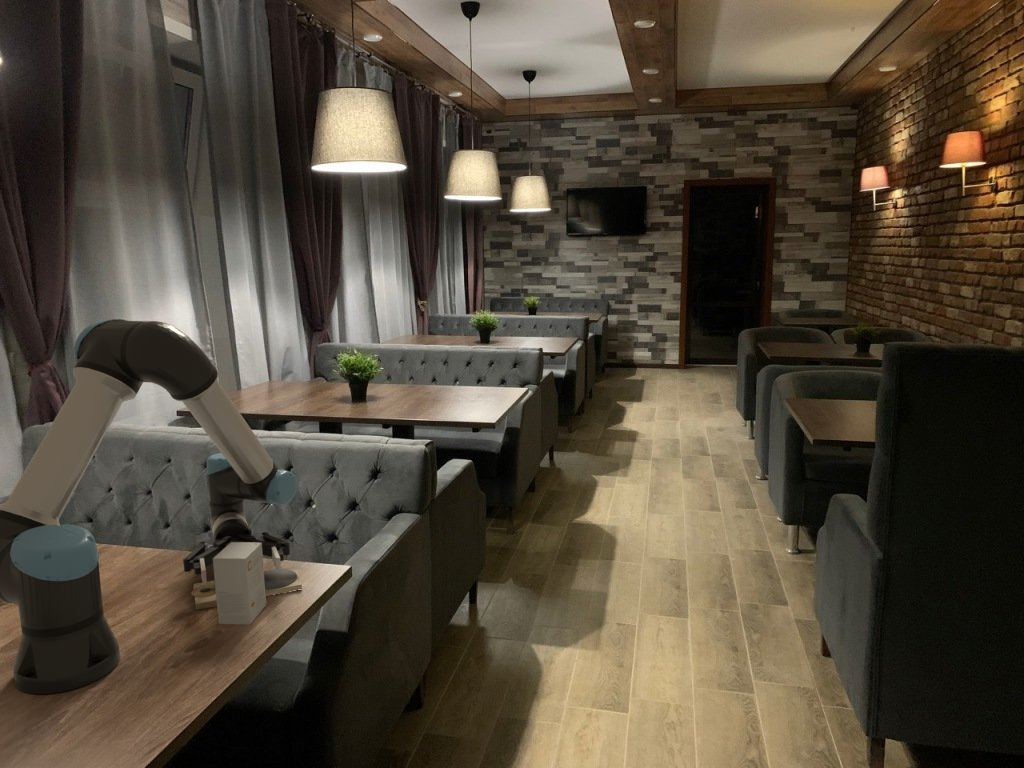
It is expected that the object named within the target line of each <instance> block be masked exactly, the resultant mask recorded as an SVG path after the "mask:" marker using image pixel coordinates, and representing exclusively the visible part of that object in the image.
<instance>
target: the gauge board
mask: <svg viewBox="0 0 1024 768" xmlns="http://www.w3.org/2000/svg"><path fill="white" fill-rule="evenodd" d="M264 582H265V594H266V596H268V597H270V596H269V595H273V594H278V595H281V594H280V593H284V594H286V593H285V592H289V591H293V590H298V589H302V590H303V585H302V582H301V579H300V578H299V575H298V572H297V570H296V568H295V566H290V567H284V568H281V571H277V570H276V568H273V569H267V570H264ZM289 593H290V592H289ZM191 596H192V597H194V601H195V602H194V603H195V604H194V605H195V610H196V611H197V610H201V609H209V608H212V607H213V608H214V607H217V600H216V589H215V579H214V580H209V581H207V584H203V583H202V582H197V583H193V589H192V591H191ZM273 596H274V595H273Z"/></svg>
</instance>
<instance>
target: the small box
mask: <svg viewBox="0 0 1024 768" xmlns="http://www.w3.org/2000/svg"><path fill="white" fill-rule="evenodd" d="M263 556H264V555H263V554H262V543H257V542H231V543H230V544H228V545H227V546H226V547H225V548H224V549H223V550H222V551H221V552H220V553H218V554H217V555H216V556H215V557H214V558H213V563H212V565H213V566H212V568H213V576H214V577H213V578H214V580H215V589H216V600H217V606H216V609H217V610H216V612H217V621H218V622H217V623H218V624H219V625H251V624H252V623H253V622H254V621H255V620H256V618H257V617H258V615H259V614H260V613H261V612H262V611H263V610H264V609H265V607H266V606H267V597H266V594H265V582H264V571H265V570H264V569H265V567H264V557H263Z"/></svg>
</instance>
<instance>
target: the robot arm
mask: <svg viewBox="0 0 1024 768" xmlns="http://www.w3.org/2000/svg"><path fill="white" fill-rule="evenodd" d="M73 354H75V356H74V363H75V366H74V367H73V370H72V374H73V377H74V379H75V384H74V385H73V387H72V388H71V390H70V392H69V394H68V396H67V397H66V398H65V401H64V402H63V404H62V406H61V408H60V410H59V411H58V413H57V415H56V416H55V418H54V420H53V422H52V423H51V425H50V427H49V428H48V430H47V432H46V434H45V435H44V437H43V439H42V440H41V442H40V444H39V445H38V447H37V449H36V451H35V453H34V454H33V456H32V458H31V460H30V461H29V463H28V464H27V466H26V467H25V470H24V471H23V473H22V475H21V477H20V478H19V480H18V481H17V483H16V485H15V486H14V489H13V490H12V492H11V493H10V495H9V497H8V499H7V500H6V501H5V502H2V503H0V601H1V602H4V603H8V604H13V605H15V606H17V607H18V613H19V621H20V622H19V623H20V628H21V639H20V642H19V646H18V650H17V654H16V659H15V662H14V665H13V677H14V685H15V687H16V688H17V689H18V690H19V691H22V692H24V693H28V694H32V695H49V694H51V695H52V694H58V693H63V692H67V691H72V690H75V689H78V688H80V687H84V686H87V685H89V684H91V683H93V682H96V681H97V680H100V679H101V678H103V677H105V676H107V674H109V673H110V672H112V671H113V670H114V669H115V668H116V667H117V665H118V664H119V663H120V660H121V652H120V651H121V650H120V644H119V642H118V639H117V638H116V636H115V634H114V631H113V630H112V628H111V626H110V624H109V623H108V621H107V618H106V617H105V614H104V606H103V604H104V603H103V596H102V595H103V593H102V587H101V586H102V584H101V575H100V566H99V565H100V563H99V559H100V554H99V551H98V547H97V543H96V539H95V537H94V535H93V534H92V533H91V532H90V531H89V530H88V529H86V528H84V527H81V526H78V525H76V524H75V525H73V524H64V523H63V524H60V518H61V516H62V515H63V513H64V510H65V509H66V507H67V505H68V503H69V501H70V500H71V498H72V496H73V494H74V493H75V490H76V488H77V486H78V485H79V483H80V481H81V479H82V477H83V476H84V474H85V471H86V470H87V468H88V466H89V465H90V462H91V461H92V459H93V457H94V455H95V454H96V452H97V450H98V448H99V446H100V444H101V442H102V441H103V438H104V437H105V435H106V433H107V432H108V430H109V428H110V426H111V424H112V423H113V420H114V418H115V417H116V416H117V413H118V412H119V411H120V410H119V409H120V408H121V406H122V404H123V403H124V402H128V401H130V400H134V399H135V398H136V397H137V395H138V393H139V391H140V389H141V387H142V386H143V384H144V383H151V384H155V385H158V386H160V387H162V388H163V389H164V390H165V391H166V392H167V393H168V394H169V395H170V396H171V398H172V399H173V400H174V401H176V402H182V404H184V406H185V407H186V408H187V410H188V412H190V413H191V415H192V416H193V417H194V419H195V420H196V421H197V423H198V424H199V426H200V427H201V428H202V430H203V431H204V432H205V434H206V435H207V436H208V437H209V439H210V440H211V441H212V443H213V444H214V446H215V447H216V448H217V450H218V451H219V453H215V454H212V455H210V456H209V457H208V458H207V459H206V474H205V476H206V484H207V492H208V494H207V495H208V508H209V514H208V518H209V526H210V528H211V532H212V536H213V537H212V538H213V543H212V544H208V543H206V541H200V542H199V543H198V545H197V547H196V548H194V549H193V550H192V551H191V552H190V553H189V554H188V555H187V556H185V557H184V558H183V560H182V561H183V563H182V564H183V571H184V572H185V573H188V572H189V573H190V571H192V570H193V572H194V575H195V576H201V581H202V582H201V583H203V584H207V582H208V581H207V578H208V577H207V569H206V567H208V566H210V565H213V558H214V557H215V556H216V555H217V554H218V553H220V552H221V551H222V550H223V549H224V548H225V547H226V546H227V545H228V544H230V543H231V542H257V543H262V554H263V556H266V557H270V558H272V562H273V565H274V567H275V569H276V570H277V571H281V569H282V566H281V562H283V561H284V560H285V558H284V557H285V556H289V555H291V549H290V542H289V541H286V540H283V539H282V538H279V537H276V536H273V535H270V534H269V532H266V531H264V532H262V533H261V535H260V536H258V537H255V535H252V533H251V530H250V526H249V524H248V522H247V517H246V513H245V512H246V511H245V510H246V509H245V500H246V501H254V502H258V503H265V504H269V505H273V504H274V505H286V504H288V503H290V502H291V501H292V500H293V498H294V496H295V495H296V493H297V489H298V482H297V481H298V480H297V477H296V476H295V474H294V473H293V472H291V471H289V470H286V469H283V468H282V469H281V468H280V469H279V468H278V466H277V465H276V463H275V462H274V461H273V459H272V457H271V455H269V453H268V452H267V450H266V449H265V447H264V446H263V444H262V443H261V442H260V440H259V438H258V437H257V435H256V434H255V433H254V432H253V430H252V429H251V426H249V424H248V423H247V421H246V420H245V418H244V417H243V416H242V414H241V413H240V411H239V410H238V408H237V407H236V405H235V404H234V402H233V400H232V399H231V397H230V396H229V395H228V394H227V392H226V391H225V388H223V386H222V385H221V383H220V382H219V380H218V378H219V371H218V370H217V368H216V367H215V365H214V364H213V362H212V361H211V359H210V358H209V357H208V356H207V354H206V353H205V352H204V350H203V349H201V348H200V347H199V345H198V344H197V343H196V342H195V341H194V340H192V338H191V337H189V336H188V335H187V334H186V333H185V332H183V331H182V330H181V329H179V328H177V327H176V326H174V325H171V324H170V323H167V322H163V321H157V320H126V319H121V318H111V319H107V320H106V319H105V320H98V321H95V322H93V323H91V324H89V325H88V326H86V327H85V328H84V329H83V330H82V331H81V332H80V333H79V335H78V336H77V338H76V340H75V343H74V346H73Z"/></svg>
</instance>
